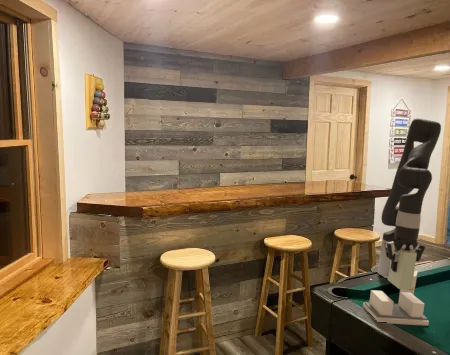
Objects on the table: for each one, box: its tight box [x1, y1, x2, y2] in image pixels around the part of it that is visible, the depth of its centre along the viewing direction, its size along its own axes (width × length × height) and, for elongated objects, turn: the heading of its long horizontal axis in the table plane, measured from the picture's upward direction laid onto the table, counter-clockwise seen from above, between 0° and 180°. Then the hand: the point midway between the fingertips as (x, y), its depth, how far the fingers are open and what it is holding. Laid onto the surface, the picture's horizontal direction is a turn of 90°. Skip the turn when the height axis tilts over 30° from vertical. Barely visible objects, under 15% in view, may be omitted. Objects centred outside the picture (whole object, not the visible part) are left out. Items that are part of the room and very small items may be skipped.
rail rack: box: [362, 289, 430, 326], centre depth 133 cm, size 12×18×7 cm, turn 92°
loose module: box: [387, 245, 417, 290], centre depth 131 cm, size 8×4×13 cm, turn 3°
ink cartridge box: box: [398, 270, 418, 297], centre depth 147 cm, size 9×5×15 cm, turn 149°
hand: (400, 271), depth 131 cm, fingers closed on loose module, 4 cm apart
